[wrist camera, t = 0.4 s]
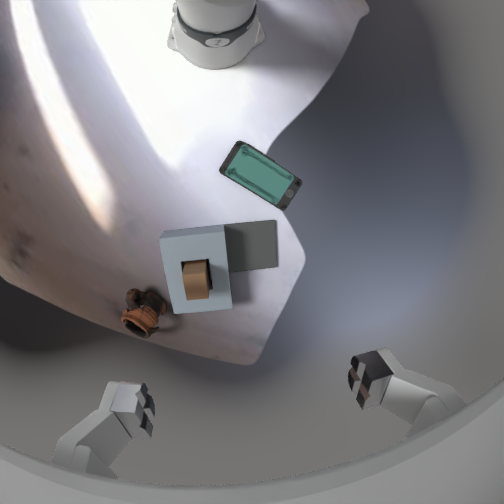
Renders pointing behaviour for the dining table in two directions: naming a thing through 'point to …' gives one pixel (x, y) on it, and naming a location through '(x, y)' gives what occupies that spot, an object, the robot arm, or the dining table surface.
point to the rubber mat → (250, 245)
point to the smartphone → (260, 175)
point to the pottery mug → (142, 312)
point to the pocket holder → (196, 248)
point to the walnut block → (196, 279)
